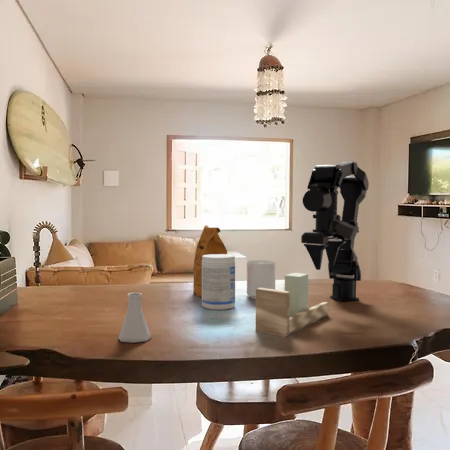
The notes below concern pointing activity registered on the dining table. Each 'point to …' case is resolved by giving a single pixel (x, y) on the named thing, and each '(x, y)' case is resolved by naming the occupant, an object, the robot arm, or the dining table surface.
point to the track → (283, 313)
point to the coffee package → (205, 246)
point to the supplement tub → (218, 281)
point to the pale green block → (297, 292)
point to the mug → (260, 276)
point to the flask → (134, 322)
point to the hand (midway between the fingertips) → (325, 267)
